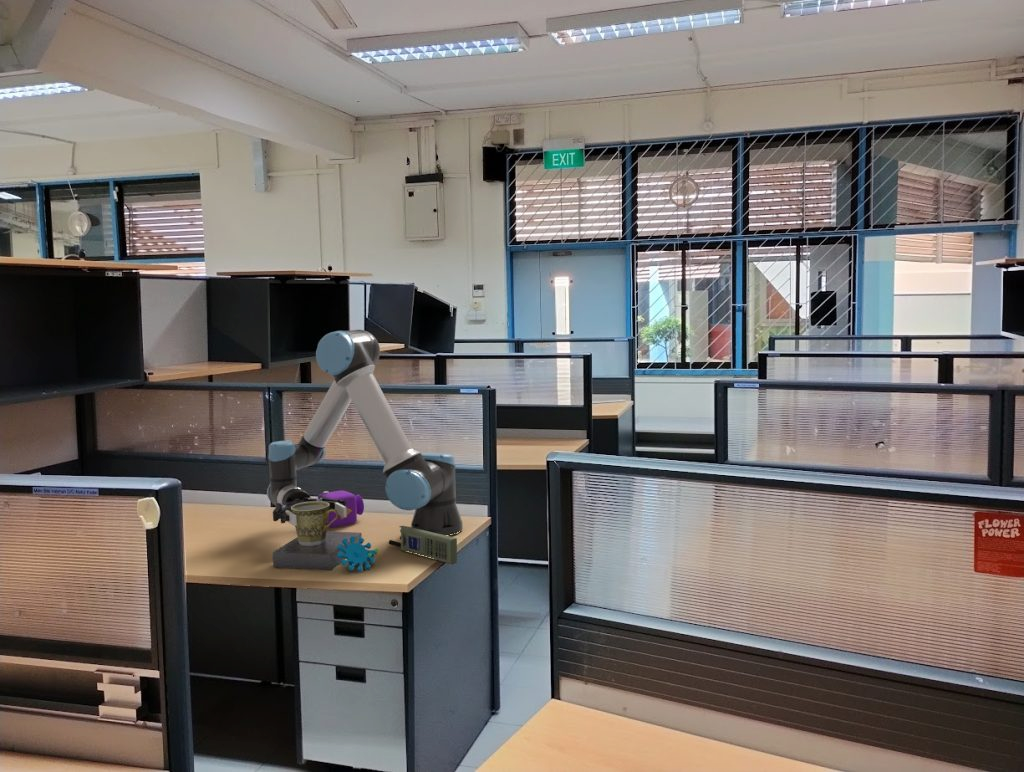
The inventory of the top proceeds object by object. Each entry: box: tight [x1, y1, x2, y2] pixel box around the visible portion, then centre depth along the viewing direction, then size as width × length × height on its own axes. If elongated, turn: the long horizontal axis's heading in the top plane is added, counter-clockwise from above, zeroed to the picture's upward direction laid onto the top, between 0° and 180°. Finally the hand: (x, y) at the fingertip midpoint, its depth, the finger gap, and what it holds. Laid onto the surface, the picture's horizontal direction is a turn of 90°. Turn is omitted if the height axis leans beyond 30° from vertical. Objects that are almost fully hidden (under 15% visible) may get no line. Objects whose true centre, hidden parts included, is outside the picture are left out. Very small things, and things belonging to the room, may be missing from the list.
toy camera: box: [317, 490, 365, 529], centre depth 247 cm, size 11×14×10 cm
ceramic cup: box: [291, 501, 338, 546], centre depth 212 cm, size 13×10×10 cm
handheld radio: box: [387, 525, 458, 565], centre depth 213 cm, size 7×3×25 cm
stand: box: [272, 530, 363, 571], centre depth 213 cm, size 16×20×4 cm
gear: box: [337, 536, 379, 572], centre depth 204 cm, size 11×6×10 cm
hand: (320, 516), depth 210 cm, fingers open, 13 cm apart
